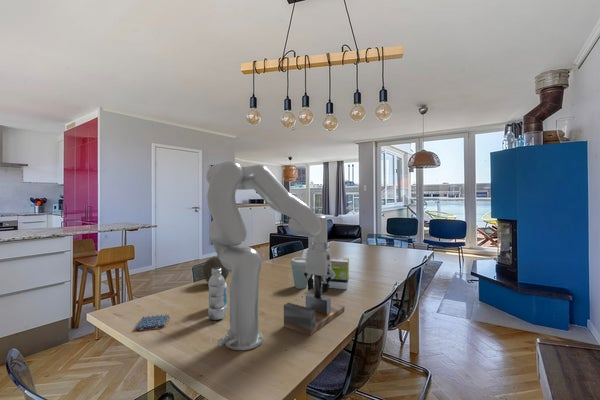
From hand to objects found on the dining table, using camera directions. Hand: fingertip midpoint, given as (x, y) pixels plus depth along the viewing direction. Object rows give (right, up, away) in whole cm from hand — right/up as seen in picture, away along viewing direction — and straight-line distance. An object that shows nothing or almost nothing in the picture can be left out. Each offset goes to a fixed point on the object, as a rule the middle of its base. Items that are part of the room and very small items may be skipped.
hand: (317, 290), depth 114 cm
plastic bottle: (-40, -11, -1) cm, 42 cm away
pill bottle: (-43, -11, +9) cm, 45 cm away
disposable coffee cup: (-7, -11, +39) cm, 41 cm away
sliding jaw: (0, -8, 0) cm, 8 cm away
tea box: (+11, -11, +40) cm, 43 cm away
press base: (-1, -11, -1) cm, 11 cm away
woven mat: (-63, -12, -6) cm, 64 cm away
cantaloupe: (-54, -11, +44) cm, 70 cm away
